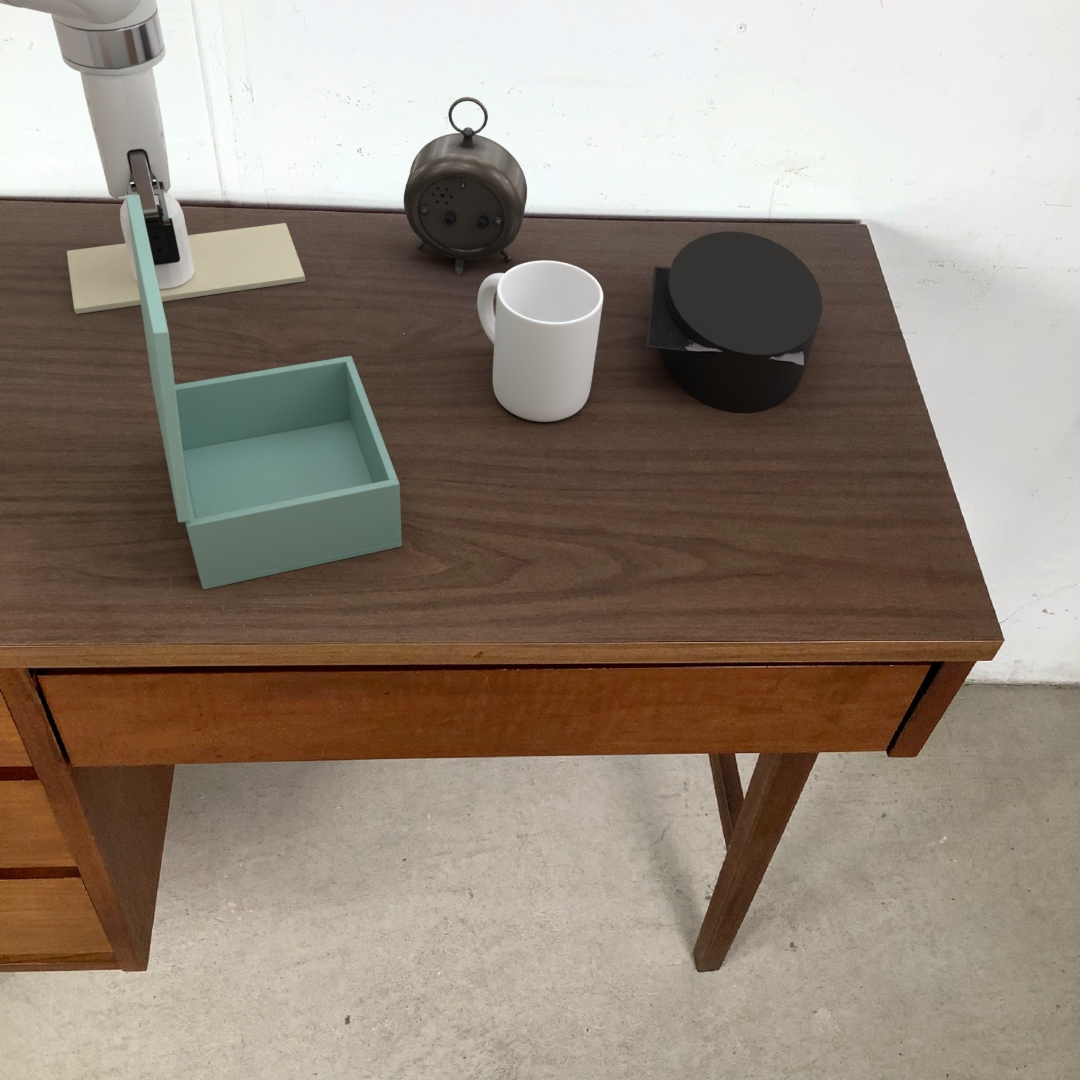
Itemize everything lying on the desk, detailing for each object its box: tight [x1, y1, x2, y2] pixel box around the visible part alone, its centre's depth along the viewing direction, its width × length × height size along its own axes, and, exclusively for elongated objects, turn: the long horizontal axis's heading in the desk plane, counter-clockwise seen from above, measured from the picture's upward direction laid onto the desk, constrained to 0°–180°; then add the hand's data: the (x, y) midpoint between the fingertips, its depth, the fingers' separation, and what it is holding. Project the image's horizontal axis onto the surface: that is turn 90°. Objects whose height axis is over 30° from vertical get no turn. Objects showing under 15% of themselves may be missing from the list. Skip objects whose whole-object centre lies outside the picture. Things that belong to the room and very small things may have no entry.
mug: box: [476, 260, 604, 423], centre depth 87 cm, size 12×8×10 cm
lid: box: [125, 194, 191, 523], centre depth 67 cm, size 15×14×1 cm
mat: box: [66, 222, 306, 315], centre depth 98 cm, size 20×9×1 cm, turn 110°
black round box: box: [645, 230, 823, 414], centre depth 94 cm, size 14×18×8 cm
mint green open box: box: [175, 355, 403, 590], centre depth 78 cm, size 14×14×7 cm
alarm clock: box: [403, 96, 528, 275], centre depth 96 cm, size 11×5×16 cm, turn 84°
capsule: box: [119, 191, 195, 289], centre depth 93 cm, size 5×5×8 cm
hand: (156, 241), depth 94 cm, fingers closed on capsule, 5 cm apart
